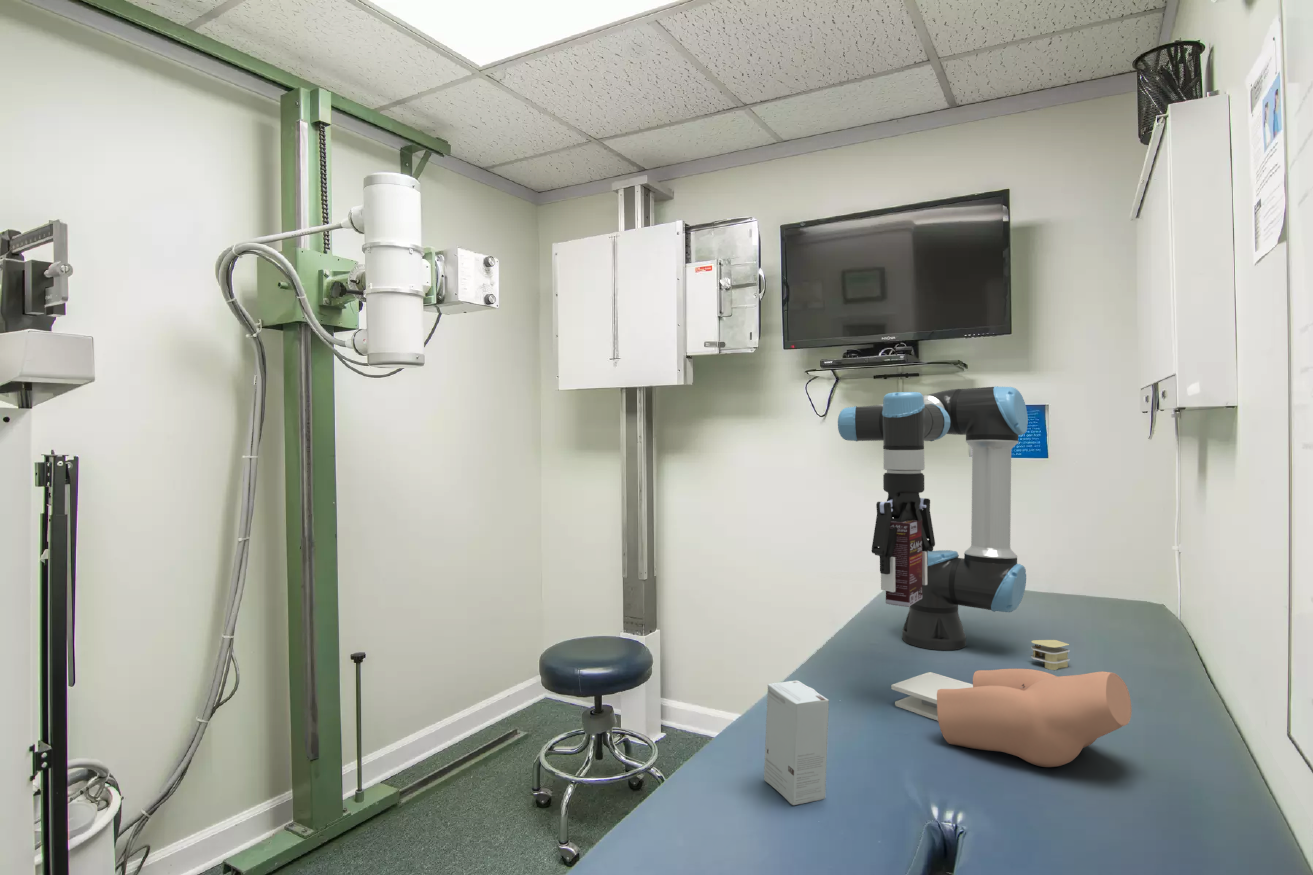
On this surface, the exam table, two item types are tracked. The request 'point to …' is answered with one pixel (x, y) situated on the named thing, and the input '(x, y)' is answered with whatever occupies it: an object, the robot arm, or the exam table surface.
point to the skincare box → (796, 741)
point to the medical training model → (1034, 713)
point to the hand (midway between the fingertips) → (904, 587)
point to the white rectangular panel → (925, 692)
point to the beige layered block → (1051, 653)
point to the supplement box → (907, 564)
